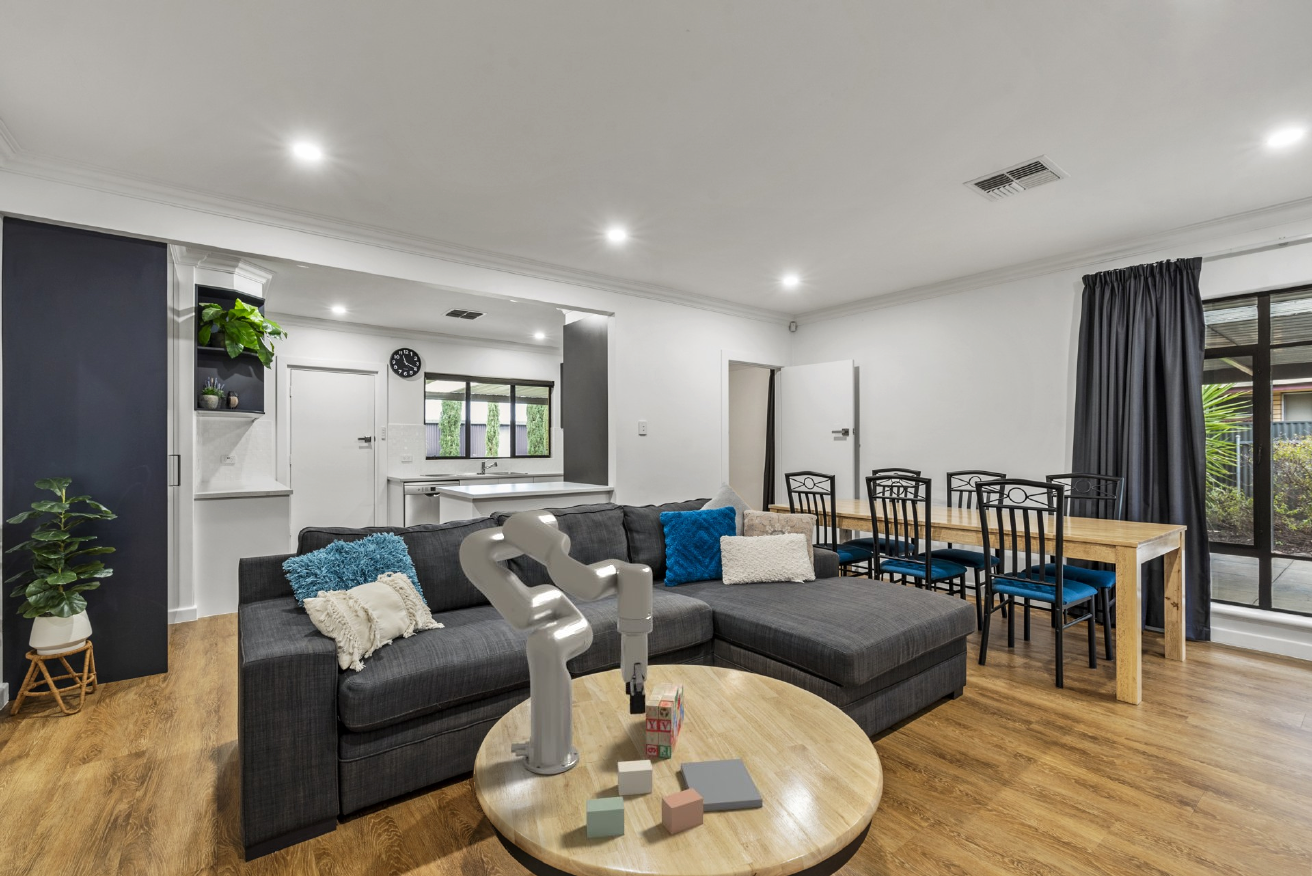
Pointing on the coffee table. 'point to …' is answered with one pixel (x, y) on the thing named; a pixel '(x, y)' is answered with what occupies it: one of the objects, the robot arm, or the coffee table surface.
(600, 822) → the sage brick
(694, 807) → the terracotta brick
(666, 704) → the stack of blocks
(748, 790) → the slate board
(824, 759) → the coffee table surface
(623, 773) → the ivory brick
